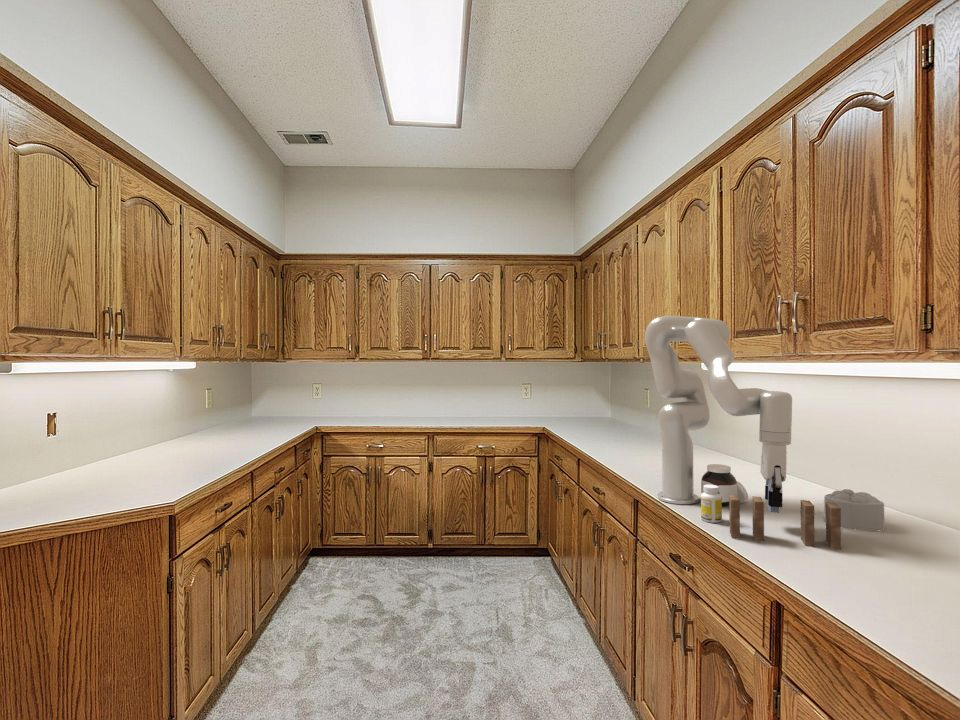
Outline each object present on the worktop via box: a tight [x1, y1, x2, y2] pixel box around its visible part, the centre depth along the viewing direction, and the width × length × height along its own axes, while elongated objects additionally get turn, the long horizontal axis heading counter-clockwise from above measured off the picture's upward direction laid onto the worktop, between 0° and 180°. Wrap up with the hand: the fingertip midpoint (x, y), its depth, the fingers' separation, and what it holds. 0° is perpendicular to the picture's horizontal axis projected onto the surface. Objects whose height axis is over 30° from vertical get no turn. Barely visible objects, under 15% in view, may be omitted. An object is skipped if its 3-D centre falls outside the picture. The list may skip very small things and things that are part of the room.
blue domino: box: [767, 478, 780, 514], centre depth 141 cm, size 2×5×10 cm, turn 159°
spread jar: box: [700, 463, 749, 507], centre depth 165 cm, size 12×11×12 cm
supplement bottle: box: [700, 485, 723, 524], centre depth 148 cm, size 5×5×10 cm
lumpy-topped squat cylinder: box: [823, 488, 885, 532], centre depth 143 cm, size 10×13×9 cm
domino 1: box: [728, 495, 741, 539], centre depth 136 cm, size 2×5×10 cm, turn 159°
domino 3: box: [800, 499, 816, 548], centre depth 130 cm, size 2×5×10 cm, turn 159°
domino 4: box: [825, 502, 842, 550], centre depth 128 cm, size 2×5×10 cm, turn 159°
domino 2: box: [751, 496, 765, 542], centre depth 134 cm, size 2×5×10 cm, turn 159°
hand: (773, 502), depth 141 cm, fingers closed on blue domino, 4 cm apart
